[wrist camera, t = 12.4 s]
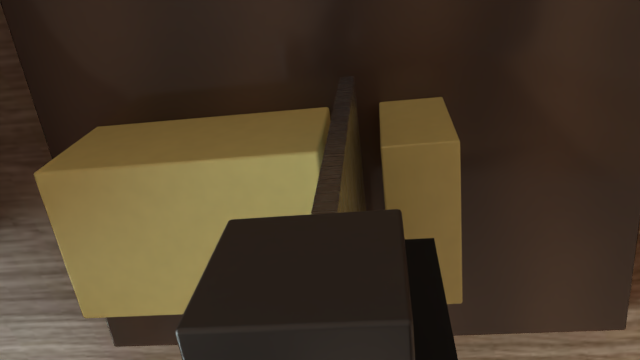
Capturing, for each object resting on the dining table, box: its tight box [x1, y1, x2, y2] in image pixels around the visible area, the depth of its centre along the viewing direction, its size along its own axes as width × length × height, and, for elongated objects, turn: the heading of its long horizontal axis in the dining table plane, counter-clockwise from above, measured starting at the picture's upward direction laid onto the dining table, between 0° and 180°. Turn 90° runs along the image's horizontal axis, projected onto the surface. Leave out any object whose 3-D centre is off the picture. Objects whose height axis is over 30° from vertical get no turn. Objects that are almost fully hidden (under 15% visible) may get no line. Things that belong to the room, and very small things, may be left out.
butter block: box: [34, 107, 331, 318], centre depth 18 cm, size 8×5×4 cm, turn 97°
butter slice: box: [379, 97, 463, 304], centre depth 17 cm, size 2×5×4 cm, turn 7°
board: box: [0, 0, 640, 347], centre depth 20 cm, size 20×14×1 cm
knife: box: [175, 76, 415, 360], centre depth 12 cm, size 9×2×11 cm, turn 7°
